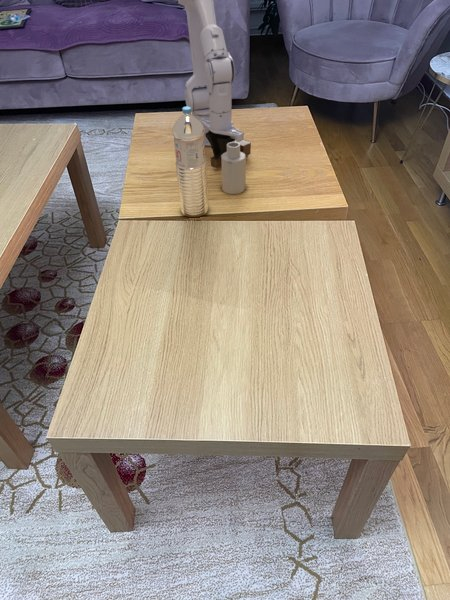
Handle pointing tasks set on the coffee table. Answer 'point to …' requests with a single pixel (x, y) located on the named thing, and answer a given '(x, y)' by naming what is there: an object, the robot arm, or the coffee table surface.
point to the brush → (244, 148)
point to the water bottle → (191, 164)
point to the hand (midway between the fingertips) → (221, 158)
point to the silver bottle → (233, 169)
